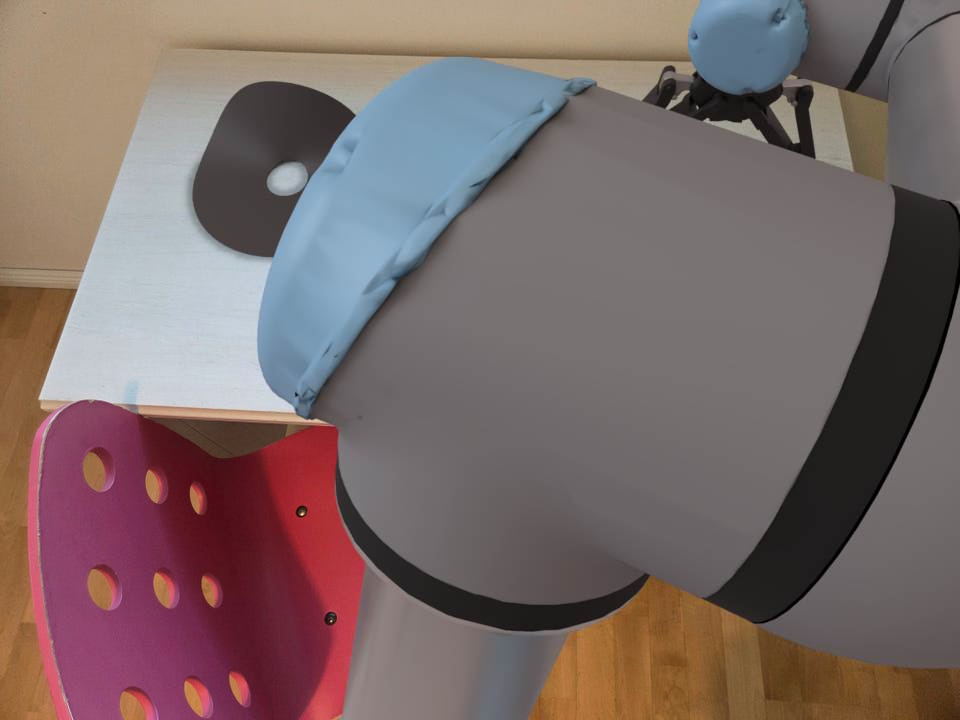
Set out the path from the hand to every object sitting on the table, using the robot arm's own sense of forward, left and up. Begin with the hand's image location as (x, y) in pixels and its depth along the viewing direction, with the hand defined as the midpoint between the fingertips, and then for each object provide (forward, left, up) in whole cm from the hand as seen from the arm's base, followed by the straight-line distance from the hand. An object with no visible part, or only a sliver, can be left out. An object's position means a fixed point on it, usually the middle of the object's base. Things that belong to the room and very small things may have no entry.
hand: (694, 194), depth 79 cm
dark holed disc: (+3, +52, -9) cm, 52 cm away
